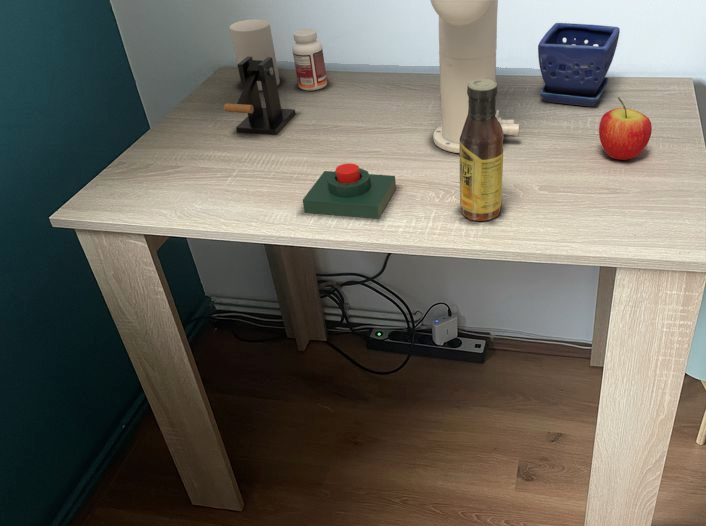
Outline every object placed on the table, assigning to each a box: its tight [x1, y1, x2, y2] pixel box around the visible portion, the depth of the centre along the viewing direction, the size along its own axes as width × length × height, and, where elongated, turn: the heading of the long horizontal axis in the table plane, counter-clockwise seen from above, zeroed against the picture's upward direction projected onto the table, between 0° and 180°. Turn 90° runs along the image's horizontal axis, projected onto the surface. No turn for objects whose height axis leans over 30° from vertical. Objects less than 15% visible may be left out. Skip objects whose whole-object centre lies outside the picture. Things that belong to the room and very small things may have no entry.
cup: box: [229, 19, 281, 92], centre depth 153 cm, size 8×8×12 cm
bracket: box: [235, 56, 297, 136], centre depth 136 cm, size 10×8×12 cm
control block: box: [302, 167, 397, 219], centre depth 114 cm, size 12×10×4 cm
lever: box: [223, 60, 262, 114], centre depth 131 cm, size 12×5×2 cm, turn 167°
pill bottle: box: [291, 28, 328, 92], centre depth 151 cm, size 6×6×11 cm
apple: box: [598, 96, 653, 161], centre depth 120 cm, size 8×8×10 cm
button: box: [335, 162, 360, 183], centre depth 112 cm, size 4×4×2 cm
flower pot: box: [537, 22, 621, 107], centre depth 141 cm, size 13×13×12 cm
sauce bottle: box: [459, 79, 504, 222], centre depth 104 cm, size 6×6×20 cm
